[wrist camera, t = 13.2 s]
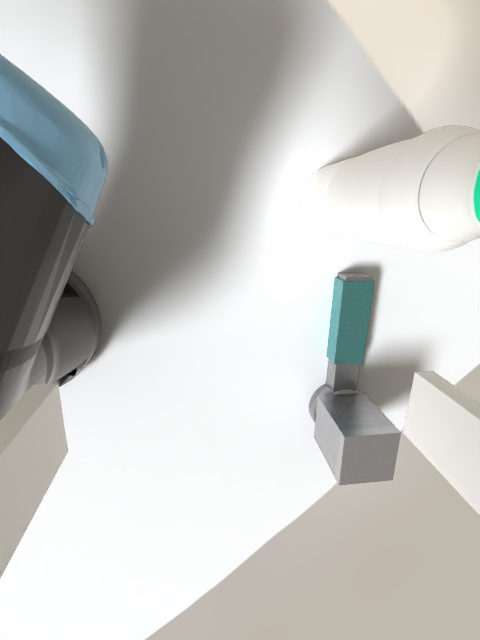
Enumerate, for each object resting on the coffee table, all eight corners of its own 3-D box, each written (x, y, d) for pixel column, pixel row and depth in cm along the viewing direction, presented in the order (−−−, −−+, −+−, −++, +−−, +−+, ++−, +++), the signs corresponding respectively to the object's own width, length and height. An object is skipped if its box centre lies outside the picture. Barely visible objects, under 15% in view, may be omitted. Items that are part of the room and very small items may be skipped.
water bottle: (372, 209, 38) (668, 208, 14) (319, 246, 38) (517, 305, 15) (343, 150, 35) (635, 32, 12) (286, 191, 36) (459, 155, 12)
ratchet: (356, 425, 47) (378, 454, 41) (306, 428, 46) (322, 458, 40) (378, 272, 40) (408, 283, 34) (321, 273, 39) (342, 283, 34)
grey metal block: (314, 437, 43) (338, 485, 36) (317, 395, 41) (344, 436, 34) (358, 433, 44) (392, 480, 36) (364, 392, 42) (400, 432, 35)
